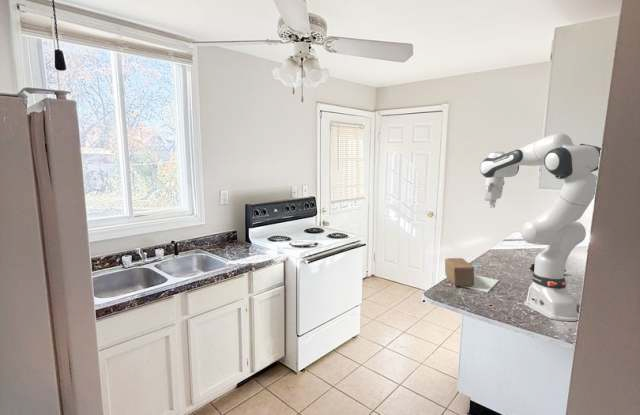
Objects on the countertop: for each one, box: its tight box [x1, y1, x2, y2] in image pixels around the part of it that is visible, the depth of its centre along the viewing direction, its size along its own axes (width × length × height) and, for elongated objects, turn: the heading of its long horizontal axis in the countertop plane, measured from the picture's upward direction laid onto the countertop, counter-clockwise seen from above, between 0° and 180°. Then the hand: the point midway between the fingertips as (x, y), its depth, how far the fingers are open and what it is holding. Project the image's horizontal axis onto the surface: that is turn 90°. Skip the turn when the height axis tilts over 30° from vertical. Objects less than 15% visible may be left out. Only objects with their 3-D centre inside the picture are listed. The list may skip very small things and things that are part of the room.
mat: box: [461, 274, 500, 293], centre depth 179 cm, size 22×16×1 cm
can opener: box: [529, 263, 567, 277], centre depth 195 cm, size 18×7×6 cm, turn 66°
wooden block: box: [444, 257, 475, 287], centre depth 181 cm, size 10×10×20 cm
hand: (492, 207), depth 184 cm, fingers closed
